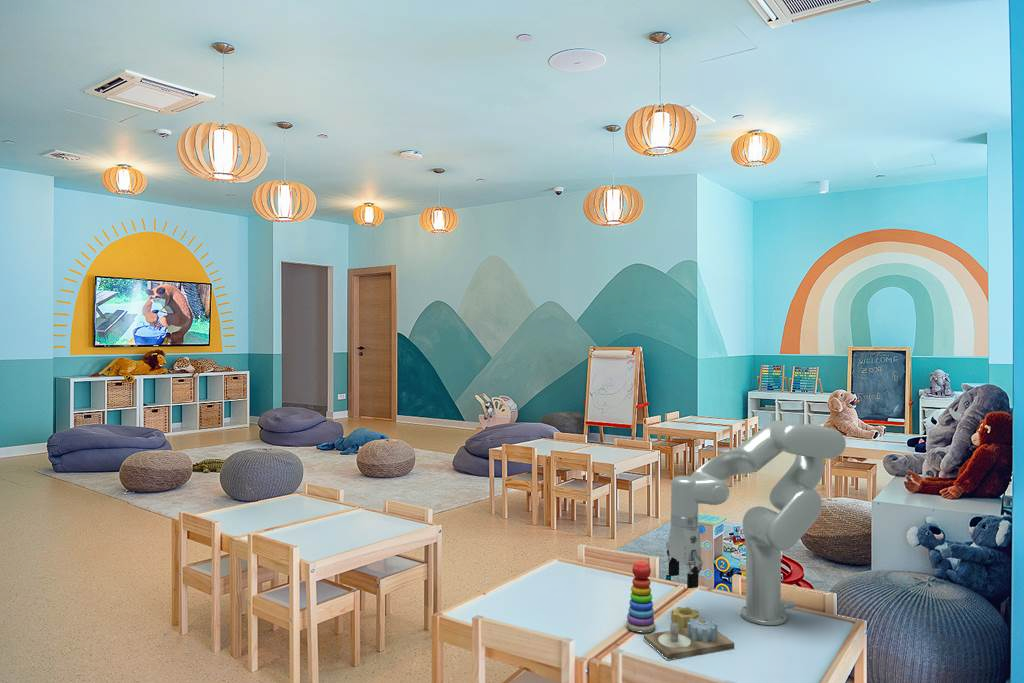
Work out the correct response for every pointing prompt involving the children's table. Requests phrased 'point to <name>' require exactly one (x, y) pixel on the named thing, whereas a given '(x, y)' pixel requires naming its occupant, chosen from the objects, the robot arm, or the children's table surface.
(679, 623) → the ochre gear
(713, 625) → the slate gear
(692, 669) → the children's table surface
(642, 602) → the stacking toy
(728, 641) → the gear board
